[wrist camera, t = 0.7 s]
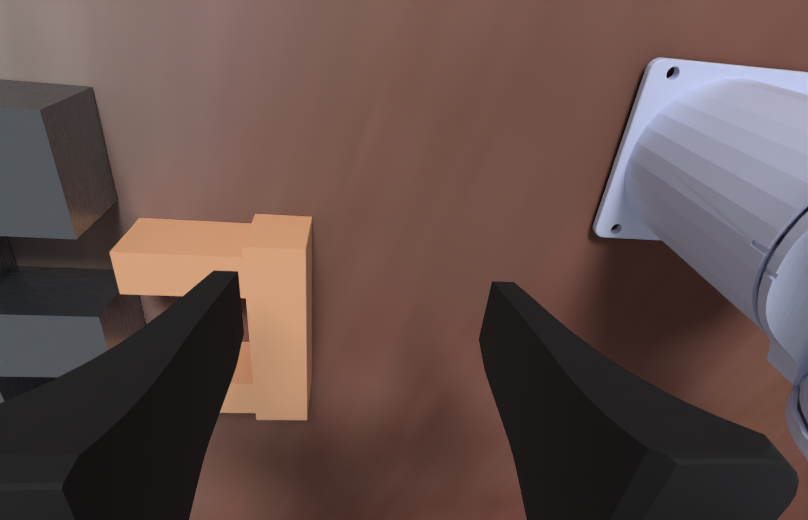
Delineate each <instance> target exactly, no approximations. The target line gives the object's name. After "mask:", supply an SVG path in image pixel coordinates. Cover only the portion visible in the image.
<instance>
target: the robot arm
mask: <svg viewBox="0 0 808 520" xmlns="http://www.w3.org/2000/svg"><path fill="white" fill-rule="evenodd" d="M671 67H674V73H673V74H672V76H670V77H669V78H667V77H666V76H667V72H668V70H669V69H670V68H671ZM616 224H618V226H617V227H616V228H615V229H614V230H611V228H612V226H614V225H616ZM593 230H594V232H595V233H596V234H597V235H598V236H599V237H605V238H624V239H644V240H662V241H663V242H664V243H665V244H666V245H667V246H669V247H670V248H671V249H672V250H673V251H674V252H675V253H676V254H678V255H679V256H680V257H681V258H682V259H683V260H684V261H685V262H686V263H688V264H689V265H690V266H691V267H692V268H693V269H694V270H695V271H696V272H698V273H699V274H700V275H701V276H702V277H703V278H704V279H705V280H707V281H708V282H709V283H710V284H711V285H712V286H713V287H714V288H715V289H717V290H718V291H719V292H720V293H721V294H722V295H723V296H724V297H725V298H727V299H728V300H729V301H730V302H731V303H732V304H733V305H734V306H736V307H737V308H738V309H739V310H740V311H741V312H742V313H743V314H744V315H746V316H747V317H748V318H749V319H750V320H751V321H752V322H753V323H754V324H756V325H757V326H758V327H759V328H760V329H761V330H762V331H763V332H765V333H766V334H767V335H768V337H769V341H770V348H769V352H768V355H767V358H766V359H767V361H769V362H770V363H771V364H772V365H773V366H774V367H775V368H776V369H777V370H778V371H779V372H780V373H781V374H782V375H783V376H784V377H785V378H786V379H787V380H788V381H789V382H790V383H791V384H793V385H794V386H793V388H792V389H791V391H790V393H789V395H788V398H787V401H786V405H785V413H786V421H787V425H788V428H789V431H790V433H791V435H792V437H793V439H794V441H795V443H796V445H797V446H798V448H799V449H800V451H801V452H802V453H803V455H804V456H805V457H806V459H807V460H808V72H801V71H791V70H781V69H771V68H761V67H751V66H741V65H731V64H721V63H711V62H702V61H692V60H682V59H672V58H662V57H661V58H656V59H654V60H652V61H651V62H650V63H649V64H648V65H647V67H646V69H645V72H644V75H643V78H642V81H641V84H640V87H639V90H638V93H637V96H636V99H635V102H634V105H633V108H632V111H631V114H630V117H629V120H628V123H627V126H626V129H625V132H624V135H623V138H622V140H621V143H620V146H619V149H618V152H617V155H616V158H615V161H614V164H613V167H612V170H611V173H610V176H609V179H608V182H607V185H606V188H605V191H604V194H603V197H602V200H601V203H600V206H599V209H598V212H597V215H596V218H595V221H594V224H593ZM243 334H244V330H243V319H242V308H241V297H240V287H239V276H238V271H215V270H214V271H213V272H211V273H210V274H209V275H208V276H206V277H205V278H204V279H203V280H202V281H200V282H199V283H198V284H197V285H196V286H194V287H193V288H192V289H191V290H190V291H189V292H187V293H186V294H185V295H184V296H183V297H181V298H180V299H179V300H178V301H176V302H175V303H174V304H173V305H172V306H170V307H169V308H168V309H167V310H165V311H164V312H163V313H161V314H160V315H159V316H157V317H156V318H155V319H153V320H152V321H150V322H149V323H148V324H146V325H145V326H144V327H142V328H141V329H139V330H138V331H137V332H135V333H134V334H133V335H131V336H130V337H128V338H127V339H125V340H123V341H122V342H120V343H119V344H117V345H116V346H114V347H112V348H111V349H109V350H107V351H106V352H104V353H102V354H101V355H99V356H97V357H96V358H94V359H92V360H90V361H89V362H87V363H85V364H83V365H81V366H79V367H77V368H75V369H73V370H71V371H69V372H67V373H65V374H63V375H61V376H59V377H58V378H56V379H54V380H52V381H50V382H48V383H46V384H43V385H41V386H39V387H37V388H35V389H32V390H30V391H28V392H26V393H24V394H21V395H19V396H17V397H14V398H12V399H9V400H7V401H5V402H2V403H0V520H189V517H190V513H191V509H192V504H193V500H194V496H195V492H196V488H197V484H198V480H199V476H200V472H201V468H202V464H203V460H204V456H205V453H206V450H207V447H208V444H209V440H210V438H211V435H212V432H213V430H214V427H215V424H216V421H217V419H218V416H219V413H220V411H221V408H222V405H223V402H224V400H225V397H226V394H227V392H228V389H229V386H230V383H231V381H232V378H233V375H234V372H235V369H236V366H237V362H238V358H239V353H240V349H241V344H242V339H243ZM479 342H480V347H481V353H482V358H483V363H484V368H485V372H486V375H487V378H488V381H489V384H490V387H491V390H492V393H493V396H494V399H495V402H496V405H497V408H498V411H499V414H500V417H501V420H502V422H503V425H504V428H505V431H506V434H507V437H508V440H509V443H510V447H511V450H512V454H513V457H514V462H515V466H516V470H517V475H518V479H519V484H520V488H521V493H522V498H523V503H524V508H525V513H526V517H527V520H777V519H778V518H779V516H780V515H781V514H782V513H783V512H784V511H785V509H786V508H787V507H788V506H789V505H790V503H791V502H792V500H793V498H794V497H795V495H796V492H797V488H798V483H799V479H798V476H797V472H796V471H795V470H794V468H793V467H792V466H791V465H790V464H789V463H788V461H787V460H786V459H785V458H784V457H783V456H782V454H781V453H780V452H779V451H778V450H777V449H776V447H775V446H774V445H773V444H772V443H771V442H770V441H769V439H768V438H767V437H766V436H765V435H764V434H761V433H759V432H756V431H754V430H751V429H748V428H746V427H743V426H741V425H738V424H736V423H733V422H731V421H728V420H725V419H723V418H720V417H718V416H715V415H713V414H711V413H708V412H706V411H704V410H702V409H700V408H697V407H695V406H693V405H691V404H689V403H687V402H684V401H682V400H680V399H678V398H676V397H674V396H672V395H670V394H668V393H666V392H664V391H662V390H661V389H659V388H657V387H655V386H653V385H651V384H650V383H648V382H646V381H644V380H642V379H640V378H639V377H637V376H635V375H634V374H632V373H630V372H629V371H627V370H625V369H624V368H622V367H621V366H619V365H618V364H616V363H615V362H613V361H611V360H610V359H608V358H607V357H605V356H604V355H602V354H601V353H599V352H598V351H597V350H595V349H594V348H592V347H591V346H590V345H589V344H587V343H586V342H585V341H583V340H582V339H581V338H579V337H578V336H577V335H575V334H574V333H573V332H572V331H570V330H569V329H568V328H567V327H565V326H564V325H563V324H562V323H561V322H559V321H558V320H557V319H556V318H555V317H554V316H552V315H551V314H550V313H549V312H548V311H547V310H545V309H544V308H543V307H542V306H541V305H540V304H539V303H537V302H536V301H535V300H534V299H533V298H532V297H531V296H530V295H528V294H527V293H526V292H525V291H524V290H523V289H521V288H520V287H519V286H518V285H516V284H515V283H514V282H493V281H492V285H491V289H490V293H489V298H488V302H487V306H486V311H485V315H484V319H483V324H482V328H481V332H480V337H479Z"/></svg>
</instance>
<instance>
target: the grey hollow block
mask: <svg viewBox="0 0 808 520" xmlns="http://www.w3.org/2000/svg"><path fill="white" fill-rule="evenodd" d="M116 201H117V196H116V191H115V187H114V182H113V178H112V174H111V169H110V165H109V160H108V156H107V151H106V147H105V142H104V138H103V134H102V129H101V125H100V120H99V116H98V111H97V107H96V103H95V98H94V94H93V89H92V87H86V86H73V85H61V84H48V83H36V82H23V81H11V80H0V403H2V402H5V401H7V400H9V399H12V398H14V397H17V396H19V395H21V394H24V393H26V392H28V391H30V390H32V389H35V388H37V387H39V386H41V385H43V384H46V383H48V382H50V381H52V380H54V379H56V378H58V377H59V376H61V375H63V374H65V373H67V372H69V371H71V370H73V369H75V368H77V367H79V366H81V365H83V364H85V363H87V362H89V361H90V360H92V359H94V358H96V357H97V356H99V355H101V354H102V353H104V352H106V351H107V350H109V349H111V348H112V347H114V346H116V345H117V344H119V343H120V342H122V341H123V340H125V339H127V338H128V337H130V336H131V335H133V334H134V333H135V332H137V331H138V330H139V329H141V328H142V327H144V326H145V325H146V324H145V320H144V316H143V311H142V307H141V302H140V298H139V295H129V294H120V293H119V289H118V285H117V281H116V277H115V273H114V270H97V269H71V268H45V267H18V266H17V264H16V261H15V258H14V256H13V253H12V250H11V248H10V245H9V242H8V240H7V237H6V236H10V237H33V238H55V239H78V238H79V237H80V236H81V235H82V234H83V233H84V232H85V231H86V230H87V229H88V228H89V227H90V226H91V225H92V224H93V223H94V222H95V221H97V220H98V219H99V218H100V217H101V216H102V215H103V214H104V213H105V212H106V211H107V210H108V209H109V208H110V207H111V206H112V205H113V204H114V203H115V202H116Z"/></svg>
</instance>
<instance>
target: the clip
mask: <svg viewBox="0 0 808 520" xmlns="http://www.w3.org/2000/svg"><path fill="white" fill-rule="evenodd" d="M109 253H110V257H111V261H112V265H113V269H114V273H115V277H116V281H117V285H118V289H119V293H120V294H129V295H159V296H184V295H185V294H186V293H187V292H189V291H190V290H191V289H192V288H193V287H194V286H196V285H197V284H198V283H199V282H200V281H202V280H203V279H204V278H205V277H206V276H208V275H209V274H210V273H211V272H213V271H214V270H215V271H238V276H239V287H240V297H241V298H246V306H247V317H248V329H249V340H250V342H242V344H241V349H240V353H239V358H238V362H237V366H236V369H235V372H234V375H233V378H232V381H231V383H230V386H229V389H228V392H227V394H226V397H225V400H224V402H223V405H222V408H221V411H220V413H256V420H307V416H308V408H309V399H310V390H311V382H312V217H307V216H289V215H270V214H255V216H254V218H253V221H252V223H232V222H212V221H193V220H173V219H153V218H139V219H138V220H137V221H136V222H135V224H134V225H133V226H132V227H131V228H130V229H129V230H128V231H127V233H126V234H125V235H124V236H123V237H122V238H121V239H120V241H119V242H118V243H117V244H116V245H115V246H114V247H113V248H112V250H111V251H110V252H109Z"/></svg>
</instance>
